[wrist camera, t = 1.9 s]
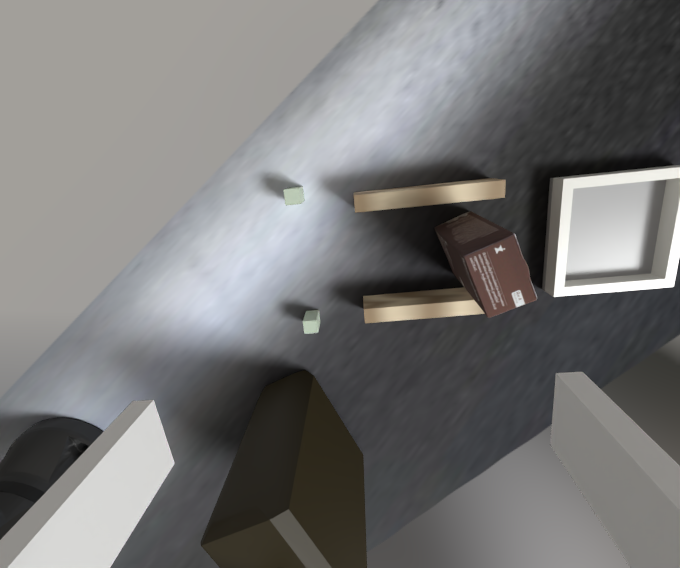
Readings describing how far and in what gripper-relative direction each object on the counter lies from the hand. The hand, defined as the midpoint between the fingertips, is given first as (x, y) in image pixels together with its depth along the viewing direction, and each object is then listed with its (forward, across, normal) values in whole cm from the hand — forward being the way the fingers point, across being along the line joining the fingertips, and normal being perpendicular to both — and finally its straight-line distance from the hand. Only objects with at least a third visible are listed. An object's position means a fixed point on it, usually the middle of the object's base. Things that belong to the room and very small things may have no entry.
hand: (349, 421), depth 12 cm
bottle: (+29, -8, -24) cm, 38 cm away
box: (+30, +11, -2) cm, 32 cm away
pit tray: (+30, +26, -2) cm, 40 cm away
